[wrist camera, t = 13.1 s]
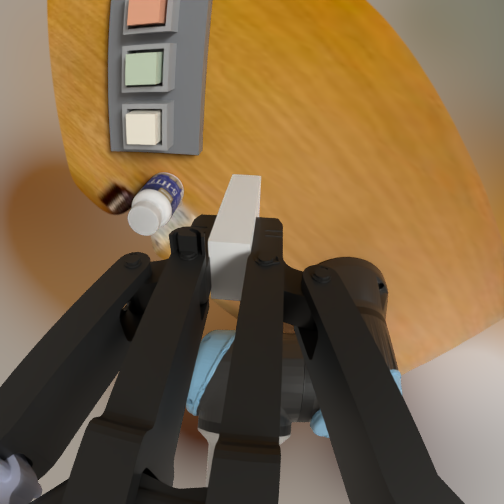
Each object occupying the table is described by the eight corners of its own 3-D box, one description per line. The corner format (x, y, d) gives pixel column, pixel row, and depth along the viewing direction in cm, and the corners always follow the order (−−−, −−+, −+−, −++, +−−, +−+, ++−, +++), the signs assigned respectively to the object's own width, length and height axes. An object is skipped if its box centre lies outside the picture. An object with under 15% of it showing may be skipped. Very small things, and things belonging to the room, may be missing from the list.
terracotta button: (168, 24, 27) (158, 22, 25) (138, 26, 27) (127, 25, 25) (170, -5, 25) (161, -8, 23) (140, -2, 25) (129, -5, 23)
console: (202, 150, 39) (193, 162, 35) (117, 146, 39) (102, 157, 35) (214, -19, 26) (206, -27, 22) (119, -10, 26) (102, -14, 22)
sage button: (164, 81, 31) (155, 84, 29) (136, 81, 31) (125, 85, 29) (166, 51, 29) (156, 52, 27) (137, 53, 29) (125, 54, 27)
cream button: (164, 137, 35) (155, 144, 33) (137, 136, 35) (126, 144, 33) (164, 108, 33) (155, 114, 31) (136, 108, 33) (125, 114, 31)
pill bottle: (188, 178, 41) (169, 211, 34) (178, 210, 44) (159, 246, 37) (152, 166, 40) (126, 195, 33) (145, 198, 43) (119, 231, 36)
